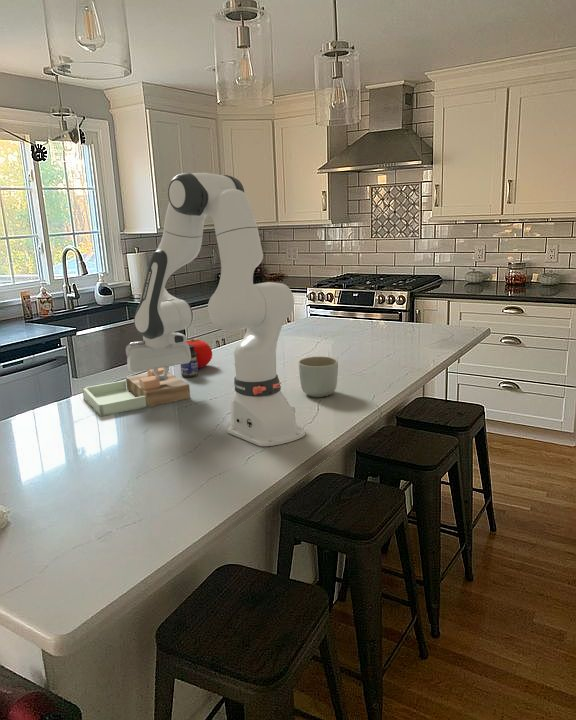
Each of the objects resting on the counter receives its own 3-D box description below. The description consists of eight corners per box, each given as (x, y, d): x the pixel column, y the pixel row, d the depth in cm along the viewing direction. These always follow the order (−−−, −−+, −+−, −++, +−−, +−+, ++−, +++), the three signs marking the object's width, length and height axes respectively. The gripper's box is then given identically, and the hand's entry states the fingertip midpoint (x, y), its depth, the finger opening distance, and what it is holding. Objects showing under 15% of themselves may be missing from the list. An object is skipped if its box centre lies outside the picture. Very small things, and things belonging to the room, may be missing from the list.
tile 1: (160, 386, 187) (159, 379, 187) (144, 389, 185) (143, 382, 184) (155, 383, 192) (154, 375, 191) (139, 385, 189) (139, 378, 189)
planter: (329, 386, 196) (329, 354, 193) (344, 397, 185) (344, 363, 182) (294, 391, 193) (293, 359, 190) (307, 402, 181) (306, 368, 178)
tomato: (193, 362, 234) (191, 334, 231) (218, 365, 227) (216, 337, 224) (172, 369, 225) (169, 341, 222) (197, 373, 218) (195, 344, 215)
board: (190, 398, 190) (189, 384, 189) (148, 406, 183) (146, 392, 182) (166, 382, 208) (165, 369, 207) (127, 389, 201) (125, 377, 200)
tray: (146, 407, 183) (145, 396, 182) (100, 416, 176) (99, 405, 175) (125, 390, 201) (124, 380, 200) (83, 398, 194) (82, 387, 193)
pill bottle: (194, 378, 212) (192, 348, 209) (178, 377, 213) (176, 348, 210) (200, 373, 218) (198, 344, 215) (185, 372, 219) (182, 344, 216)
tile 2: (167, 376, 199) (166, 369, 198) (152, 379, 196) (151, 372, 195) (161, 373, 203) (161, 366, 202) (147, 375, 200) (147, 368, 200)
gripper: (127, 345, 179) (132, 388, 182) (191, 335, 189) (194, 377, 192) (122, 341, 184) (126, 384, 188) (184, 332, 194) (187, 373, 198)
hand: (161, 380), depth 190 cm, fingers closed
